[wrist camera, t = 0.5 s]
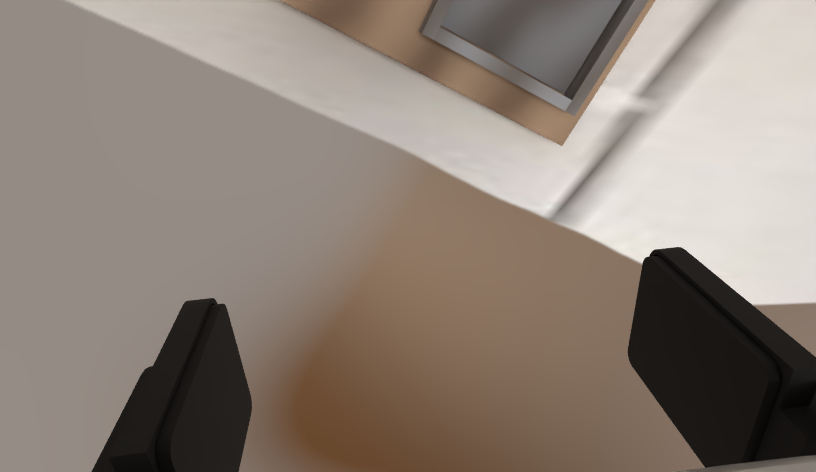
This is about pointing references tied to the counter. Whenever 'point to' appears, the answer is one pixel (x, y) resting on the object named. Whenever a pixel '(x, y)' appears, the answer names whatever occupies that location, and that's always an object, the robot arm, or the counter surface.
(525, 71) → the brown flat wooden board
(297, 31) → the counter surface
